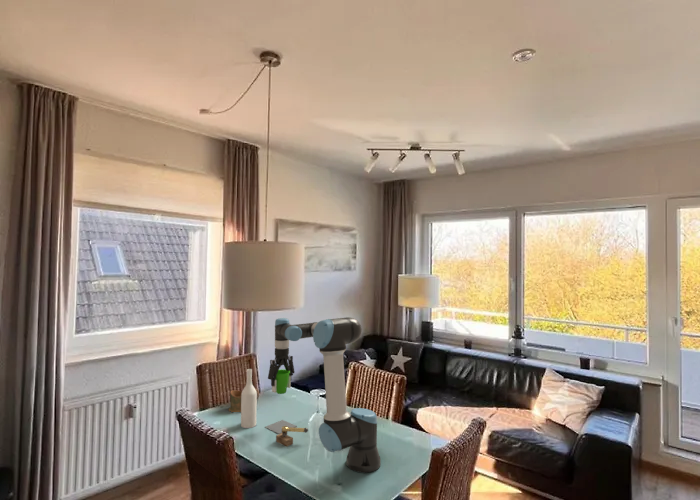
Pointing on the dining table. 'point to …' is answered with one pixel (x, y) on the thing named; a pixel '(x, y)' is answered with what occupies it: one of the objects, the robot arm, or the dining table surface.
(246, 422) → the bottle
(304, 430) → the lever
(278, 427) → the felt pad
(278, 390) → the cup
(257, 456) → the dining table surface
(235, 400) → the mug
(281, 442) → the brown wooden block
